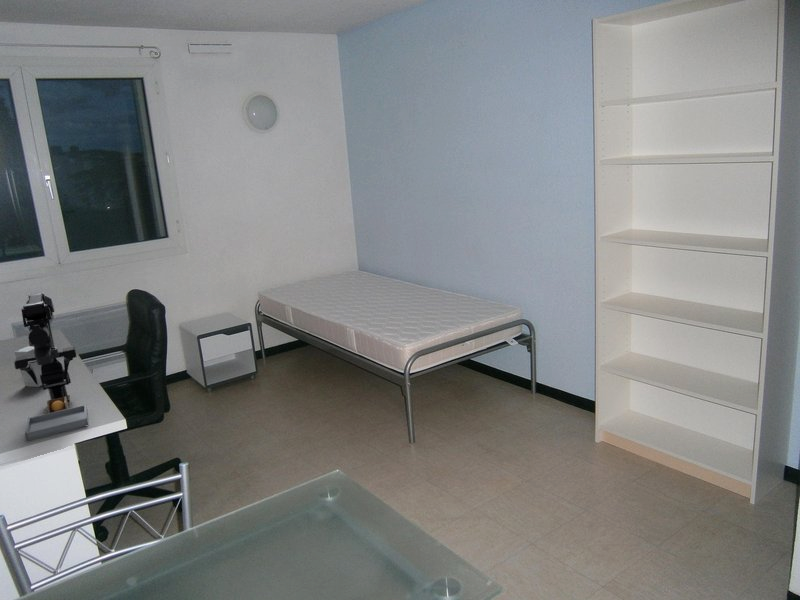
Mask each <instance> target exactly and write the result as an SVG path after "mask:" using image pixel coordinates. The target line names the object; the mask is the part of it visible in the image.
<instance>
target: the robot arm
mask: <svg viewBox="0 0 800 600" xmlns="http://www.w3.org/2000/svg"><path fill="white" fill-rule="evenodd" d="M20 311H21V316H22V322H23V327H24V328H28V326H30V327H29V329H30V331H29V332H28V339H27V340H28V342H29V341H30V343H32V344H33V345H34V349H35V351H34V354H35V357H32V358H29V357H28V355H27V356H22V357H17V358H16V357H15V359H14V368H15V370H19V371H20V370H21V371H22V370H24V371H26V372H27V373H28V374H29V375H30V376H31V378H32V379H33V380H34V382H35V383H36V384H37V378H36V376H35V373H34V370H33V367H32V365H31V363H34V362H37V364H38V365H42V366H41V373H42V374H40V379H41V383H42V386H41V387H42V389H43V391H45V390H48V393H49V397H50V399H49V400H53V399H57V398H61V397H66V398H67V402H68V403H69V402H70V399H71V397H70V395H69V394H68V391H67V386H69V385H70V384H71V383H72V381H71V377H70V374H69V372H68V370H69V365H70V362H71V361H73V360H74V358H77V355H78V354H77V350H76V349H77V348H76V347H75V346H70V347H69V346H68V347H64V348H62V350H61V351H59V350H58V347H57V346H56V345H55V342H54V337H53V336H54V335H53V331H52V326H51V325H52V322H53V320H54V317H55V316H54V313H55V312H56V311H55V308H54V303H53V301H52V298H51V297H48V296H46V295H45V292H41V291H40V292H33V293H30V294H28V300H27V301H26V303H24V304H23V305H22V308H21V309H20ZM29 329H28V330H29ZM58 358H63V364H62V363H61V362H60V361H59V360H58ZM21 371H20V372H21Z"/></svg>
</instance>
